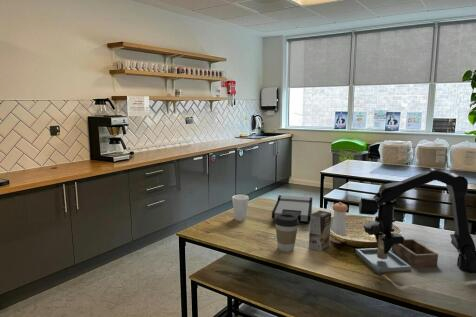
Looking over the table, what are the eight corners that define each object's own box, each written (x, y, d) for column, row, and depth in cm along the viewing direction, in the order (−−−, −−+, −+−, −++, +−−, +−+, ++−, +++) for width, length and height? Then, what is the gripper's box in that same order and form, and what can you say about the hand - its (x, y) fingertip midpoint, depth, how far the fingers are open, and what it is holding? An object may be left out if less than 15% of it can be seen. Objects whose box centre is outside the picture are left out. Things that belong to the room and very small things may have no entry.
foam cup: (229, 217, 198) (229, 195, 196) (243, 215, 202) (244, 194, 200) (236, 222, 190) (236, 200, 188) (251, 220, 194) (251, 198, 192)
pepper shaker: (327, 240, 167) (329, 202, 164) (335, 236, 172) (337, 199, 169) (341, 244, 162) (343, 205, 159) (348, 240, 167) (351, 202, 164)
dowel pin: (389, 258, 142) (391, 238, 140) (380, 259, 141) (382, 238, 139) (383, 254, 145) (385, 234, 144) (375, 255, 145) (376, 235, 143)
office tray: (271, 224, 188) (272, 210, 187) (278, 207, 219) (279, 195, 218) (310, 228, 184) (310, 213, 182) (311, 210, 214) (312, 197, 213)
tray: (410, 272, 136) (411, 266, 135) (377, 274, 134) (378, 268, 133) (385, 252, 153) (385, 247, 153) (355, 254, 151) (356, 249, 151)
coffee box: (321, 251, 154) (322, 217, 151) (308, 247, 158) (309, 214, 155) (329, 245, 161) (331, 212, 158) (317, 241, 165) (318, 209, 162)
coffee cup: (299, 244, 161) (300, 214, 159) (297, 255, 150) (298, 222, 148) (275, 242, 164) (276, 211, 162) (271, 251, 153) (272, 219, 151)
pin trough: (436, 268, 140) (438, 254, 139) (414, 269, 138) (415, 255, 137) (411, 251, 155) (413, 238, 154) (391, 252, 154) (392, 239, 153)
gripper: (356, 209, 148) (353, 243, 151) (379, 224, 130) (376, 262, 133) (380, 208, 150) (377, 242, 152) (406, 223, 132) (403, 261, 134)
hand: (382, 251), depth 143 cm, fingers closed on dowel pin, 4 cm apart
